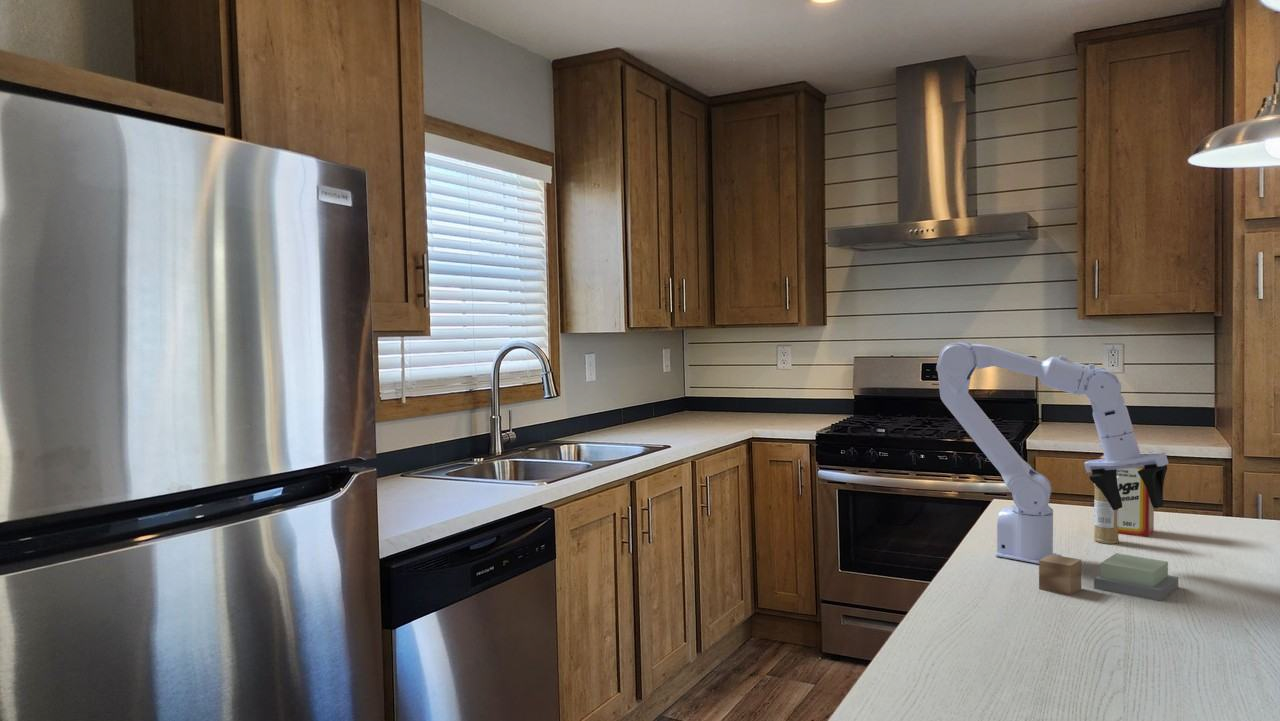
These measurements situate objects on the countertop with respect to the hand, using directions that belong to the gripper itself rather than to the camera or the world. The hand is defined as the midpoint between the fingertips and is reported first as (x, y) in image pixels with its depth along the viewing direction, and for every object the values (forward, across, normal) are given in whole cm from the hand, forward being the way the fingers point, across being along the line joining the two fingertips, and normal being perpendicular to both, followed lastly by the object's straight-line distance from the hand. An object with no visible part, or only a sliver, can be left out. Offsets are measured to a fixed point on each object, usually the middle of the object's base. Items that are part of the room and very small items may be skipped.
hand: (1137, 507), depth 160 cm
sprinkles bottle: (+10, +16, -12) cm, 23 cm away
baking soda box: (+11, +20, -24) cm, 32 cm away
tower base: (+11, -4, +13) cm, 18 cm away
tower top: (+9, -4, +13) cm, 16 cm away
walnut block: (+8, +2, +24) cm, 25 cm away
